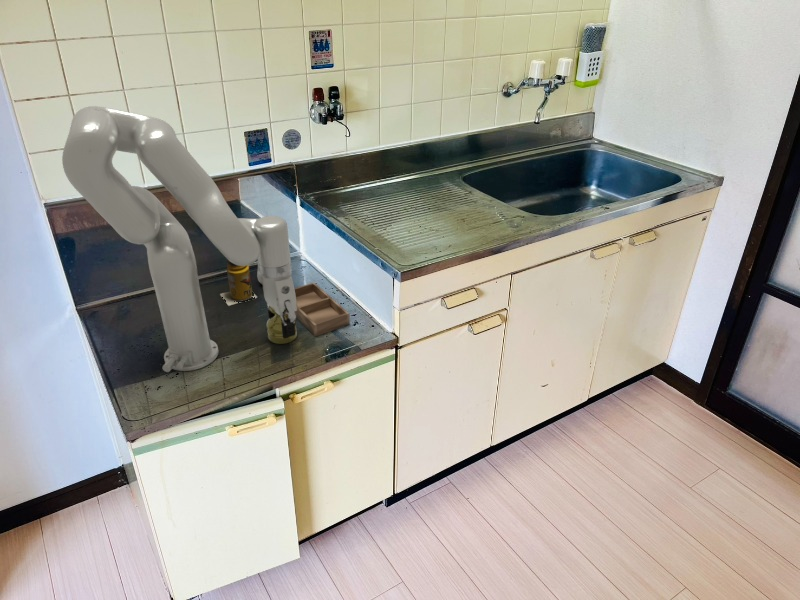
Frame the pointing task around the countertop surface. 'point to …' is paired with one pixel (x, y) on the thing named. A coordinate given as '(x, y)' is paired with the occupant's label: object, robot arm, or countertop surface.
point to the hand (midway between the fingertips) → (282, 328)
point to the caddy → (319, 310)
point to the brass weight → (278, 329)
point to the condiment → (238, 284)
